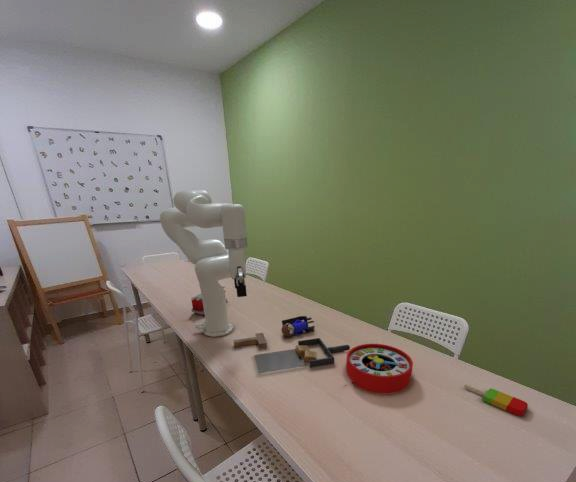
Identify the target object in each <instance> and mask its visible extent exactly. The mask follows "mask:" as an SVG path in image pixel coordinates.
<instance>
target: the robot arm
mask: <svg viewBox="0 0 576 482" xmlns="http://www.w3.org/2000/svg"><path fill="white" fill-rule="evenodd" d="M172 201H173V205H174V207H168V208H166V209H164V210H162V211H161V212H160V214H159V222H160V225H161V228H162V230H163V232H164V233H165V234H166V236H167V237H168V238H169V239H170V240H171V241H172V242H173V243H174V244H176V245H177V246H178V248H179V249H180V250H181V252H182V254H184V256H185V257H186V258H187V259H188V261H189V262H190V263H191V264H193V265H194V272H195V276H196V278H197V281H198V285H199V289H200V294H201V295H202V301H203V307H204V314H203V315H204V321H203V322H198V323H195V324H194V326H195V329H198V330H202V331H203V334H204V335H205V336H208V337H211V338H212V337H213V338H214V337H215V338H217V337H223V336H227V335H228V334H230V333H232V332H233V330H234V326H233V324H232V323H229V322H230V321H229V313H228V303H226V299H227V296H226V290H225V288H223V287H224V286H222V285H221V284H220V283H219V281H222V280H225V279H231V280H233V282H234V289H236V297H237V298H242V297H244V298H245V297H247V296H248V294H247V285H246V277H247V268H246V267H247V265H246V254H245V253H246V252H245V250H246V249H247V248H248V238H247V226H246V225H247V224H246V213H245V207H244V206H243V205H242V204H239V203H230V202H221V203H220V202H215V203H213V201H212V197H211V195H210V194H209V193H208V191H206V190H204V189H183V190H179V191H177V192H176V193H175V194H174V196H173V199H172ZM193 227H198V228H200V229H213V228H220V227H222V235H223V242H222V241H221V240H219V239H218V238H217V239H216V238H211V239H199V238H198V237H197V235H196V234H195V233H194V232H192V231H191V230H189V229H188V228H193ZM186 228H187V229H186Z"/></svg>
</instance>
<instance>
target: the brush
mask: <svg viewBox="0 0 576 482" xmlns="http://www.w3.org/2000/svg"><path fill="white" fill-rule="evenodd" d="M267 344H268V342H267V340H266V338H265V334H264V332H257V333H255V336H253V337H245V338H238V339H233V347H234V348H240V347H245V346H251V345H257V347H258V349H267V348H268V345H267Z"/></svg>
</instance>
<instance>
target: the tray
mask: <svg viewBox="0 0 576 482" xmlns="http://www.w3.org/2000/svg"><path fill="white" fill-rule="evenodd" d="M295 350H296V348H293V349H286V350H280V351H272V352H266V353H259V354H254V359H255V363H256V366H257V367H256V368H257V370H258V374H264V373H268V372H269V373H270V372H275V371H276V372H277V371H282V370H287V369H296V368H300V367H306V366H307V365H306V362H304V358H303V356H302V357H300V356H298V355H297V353H296V352H295Z"/></svg>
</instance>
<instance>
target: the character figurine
mask: <svg viewBox="0 0 576 482" xmlns="http://www.w3.org/2000/svg"><path fill="white" fill-rule="evenodd" d="M314 322H315V321H314V320H312V317H310V316H309V317H308V316H307V315H300V316H295V317H292V318H287V319H283V320H281V323H282V326H281V333H282V335H284V337H291V336H293V335H294V336H300V335H303V334H305V333H310V331H311V330H315V328H316V325H312V326H309V324H313V323H314ZM299 332H301V333H300V334H299Z"/></svg>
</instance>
